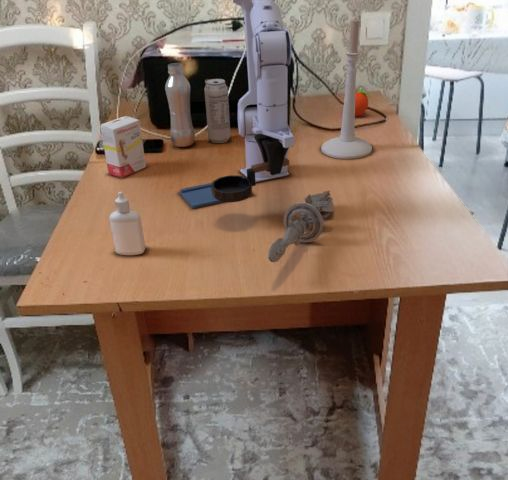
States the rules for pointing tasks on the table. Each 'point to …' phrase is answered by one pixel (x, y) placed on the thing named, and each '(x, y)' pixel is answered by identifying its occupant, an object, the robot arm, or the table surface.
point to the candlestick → (349, 110)
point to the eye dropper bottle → (126, 228)
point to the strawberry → (360, 102)
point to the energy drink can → (217, 110)
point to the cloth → (199, 195)
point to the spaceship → (302, 223)
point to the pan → (238, 184)
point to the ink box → (123, 146)
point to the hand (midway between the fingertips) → (273, 171)
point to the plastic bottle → (179, 106)
